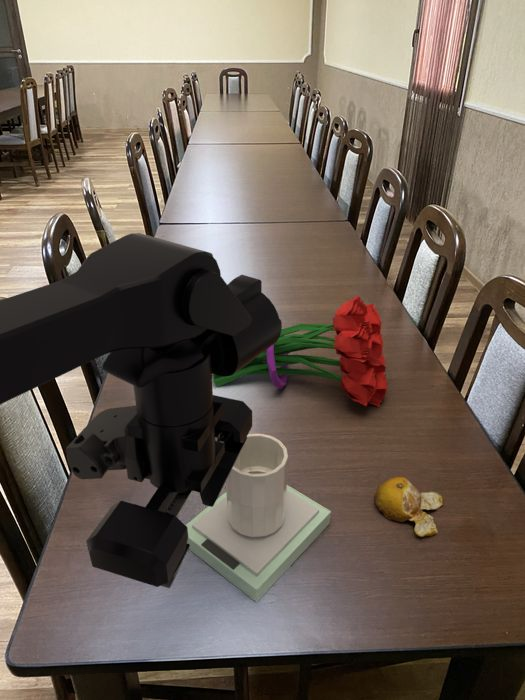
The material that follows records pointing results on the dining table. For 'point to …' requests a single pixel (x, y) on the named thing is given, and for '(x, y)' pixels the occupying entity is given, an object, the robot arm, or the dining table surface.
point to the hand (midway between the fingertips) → (188, 541)
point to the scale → (256, 543)
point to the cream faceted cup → (258, 487)
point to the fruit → (408, 504)
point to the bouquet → (350, 342)
